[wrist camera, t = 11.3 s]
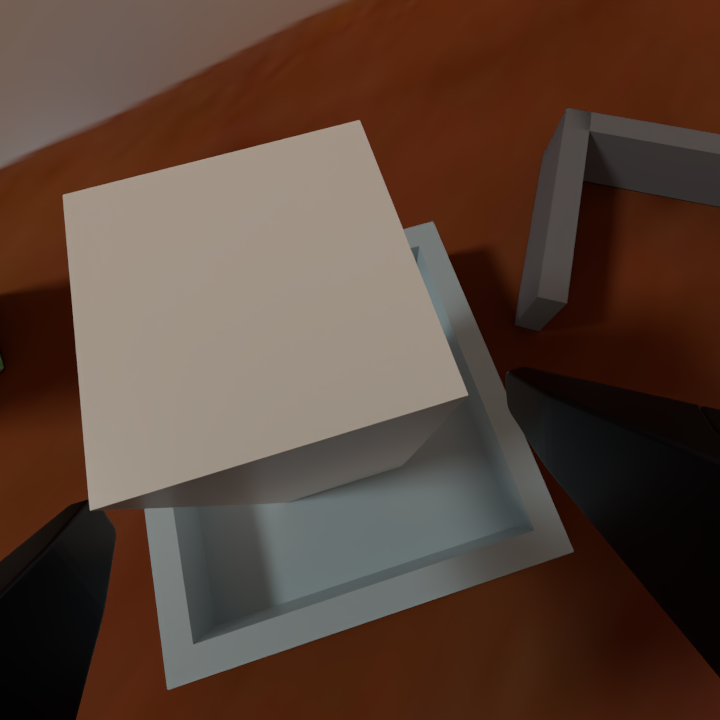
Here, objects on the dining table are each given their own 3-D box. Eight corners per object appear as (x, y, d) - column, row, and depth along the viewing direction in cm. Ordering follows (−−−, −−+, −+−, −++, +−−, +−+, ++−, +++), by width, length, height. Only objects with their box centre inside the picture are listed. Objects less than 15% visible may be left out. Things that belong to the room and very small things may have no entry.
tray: (540, 542, 17) (574, 551, 14) (203, 656, 16) (167, 689, 13) (424, 258, 21) (433, 221, 19) (153, 334, 20) (118, 307, 18)
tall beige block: (402, 466, 17) (468, 394, 6) (285, 503, 17) (88, 511, 5) (359, 336, 19) (341, 75, 7) (254, 366, 19) (58, 144, 7)
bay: (814, 394, 19) (894, 376, 16) (513, 325, 20) (537, 296, 17) (801, 204, 22) (866, 159, 19) (542, 155, 23) (566, 107, 20)
